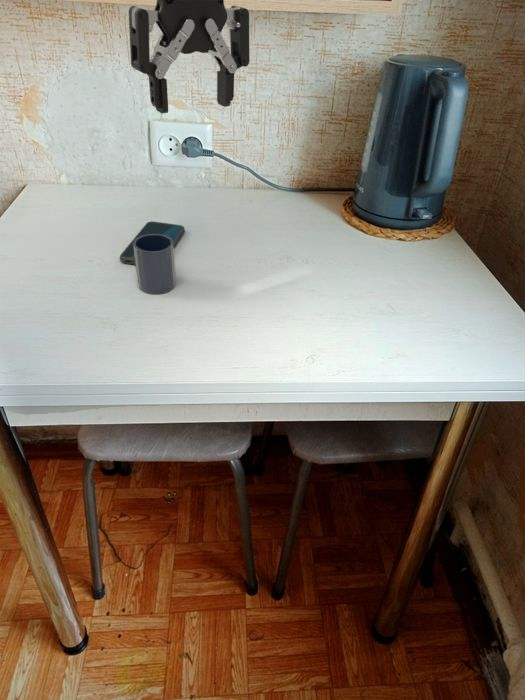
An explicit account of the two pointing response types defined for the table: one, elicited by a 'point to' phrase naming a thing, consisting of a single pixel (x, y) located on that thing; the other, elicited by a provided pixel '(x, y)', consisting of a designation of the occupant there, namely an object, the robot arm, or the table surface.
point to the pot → (154, 263)
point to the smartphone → (153, 228)
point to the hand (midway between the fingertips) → (193, 108)
